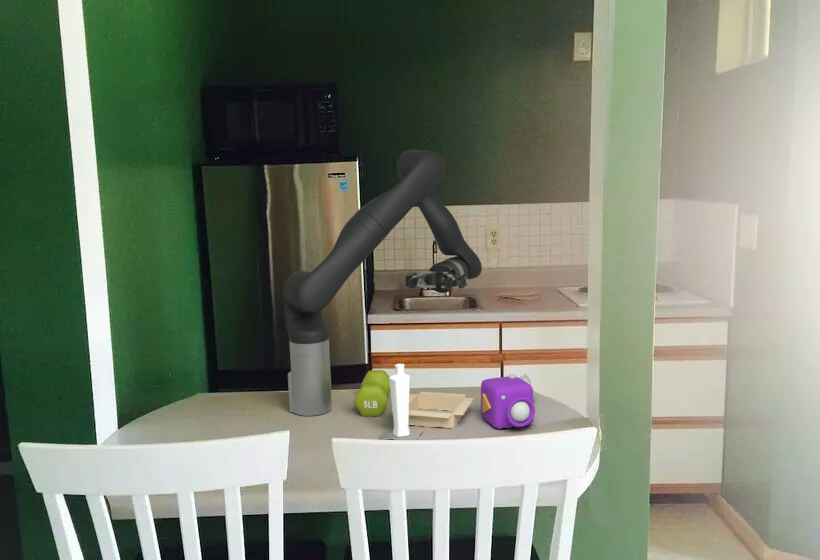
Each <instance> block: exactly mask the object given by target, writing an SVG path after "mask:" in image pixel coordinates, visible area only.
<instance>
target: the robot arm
mask: <svg viewBox="0 0 820 560" xmlns="http://www.w3.org/2000/svg"><path fill="white" fill-rule="evenodd" d="M445 170H446V163H445V160H444V158H443V157H442V156H441V155H440V154H439V153H437V152H433V151H430V150H423V149H409V150H405V151H403V152H402V153H401V154H400V156H399V157H398V159H397V163H396V171H397V175H398V177H399V179H400V181H399V182H397V184H396V185H395V186H394V187H392V188H390V189H388V190H387V191H386V192H384V193H382V194H380V195H379V196H377V197H374V198H372V200H370V201H367V203H365V204H364V205H363V206H361V207H360V208H359V209H358V210H357V211H356V212H355V213H354V214H353V215H352V216H351V217H350V218H349V219H348V221H347V222H346V223H345V224H344V226H343V228H342V229H341V231H340V233H339V235H338V237H337V239H336V241H335V243H334V246H333V247H332V250H331V251H330V253H328V255H327V256H326V257H325V258H324V259H323V260H322V261H321V262H320V263H319V264H318V265H317V266H316V267H315V268H314V269H313V270H311V271H306V270H301V271H299V270H298V271H296V272H293V273H292V274H291V275H289V276H288V277H287V279H286V280H285V283H284V286H283V292H282V293H283V294H282V295H283V296H282V297H283V298H282V299H283V309H284V320H285V326H286V330H287V332H288V333H287V334H288V337H289V338H288V339H289V341H288V342H289V354H290V355H289V356H290V357H289V358H290V371H289V372H288V373H287V383H288V385H287V386H288V403H289V413H294V414H295V415H299V416H304V417H305V416H307V417H308V416H309V417H311V416H320V415H323V414H326V413H329V412H331V411H332V410H333V399H332V379H331V378H332V377H331V376H332V375H331V358H330V337H329V335H330V333H329V327H328V325H327V324H326V323H325V320H324V317H323V313H322V311H323V310H324V309H326V308H327V306H328V305H330V303H331V302H332V300H333V299H334V298H335V296H336V295H338V294H337V293H338V292H339V291H340V290H341V288H342V286H343V285H345V283H346V281H347V280H348V279H349V277H350V276H352V274H353V273H354V272H355V271H356V270H357V268H358V267H360V266H361V264H363V262H364V261H365V260H366V259H367V258H368V257H369V255H370V254H372V253H373V252H374V250H375V249H377V247H378V246H379V245H380V244H381V243H382V242H383V241H384V239H386V237H387V236H388V235H389V234H390V233H391V231H392V230H393V229H394V228H395V227H396V226H397V225H398V224H399V223H400V222H401V221H402V220H403V219H404V218H405V217H406V215H407V214H408V213H409V212H410V211H411V210H412V209H413V208H414V207H415V206H416V205H417V207H418V209H419V210H420V212H421V214H422V215H423V217H424V219H425V221H426V223H427V224H428V226H429V227H428V228H430V231H431V233H432V235H433V239H434V240H435V242H436V245H437V246H438V249H439V251H440V252H441V254H442V255H444V256H450V257H449V258H446V259H444V260H442V261H439V262H437V263H435V264H433V265H432V266H431V267H430V268H429V269H428V271H427V272H420V273H417V272H413V273H412V272H411V273H409V274H406V275H405V276H404V277H405V278H404V279H405V280H404V281H405V287H408V288H409V289H414V288H416V287H418V288H421V289H425V288H426V289H427V288H431V289H432V290H433V291H435V292H437V293H440V294H446V293H448V292H450V291H452V290H455V289H456V288H457V287H458V289H464V288H466V287H467V286H468V281H469V280H472V279H476V278H478V277H480V275H481V273H482V272H483V267H482V262H481V260H480V257H479V256H478V255H477V254H476V252H474V250H473V249H472V248H471V247H470V245H469V244H468V242H466V239H465V238H464V237H463V234H462V232H461V229H460V227H459V225H458V222H457V220H456V218H455V217H454V215H453V213H451V211H450V210H449V209H448V208H447V206H446V205H445V204H444V203H443V202H442V200H441V199H440V198H439V196H438V194H437V193H436V191H435V190H434V189H435V188H436V187H437V186H438V185H439V184H440V182H441V181H442V179H443V177H444V175H445ZM451 256H452V257H451Z"/></svg>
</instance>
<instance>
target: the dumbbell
mask: <svg viewBox="0 0 820 560" xmlns="http://www.w3.org/2000/svg"><path fill="white" fill-rule="evenodd" d="M389 377H390V375H389V374H388V372H386V370H383V369H380V370H379V369H371V370H368V371H367V373H366V374H365V376H364V377H363V379H362V381H361V385H360V388H359V390H358V392H357V394H356V396H355V398H354V405H355V407H356V409H357V410H358V412H359V413H360V415H361V416H363V417H368V416H376V417H380V416H381V415H383V412H384V411H385V409H386V407H387V405H388V403H389V398H388V395H389V394H390V393H391V392H390V383H389Z"/></svg>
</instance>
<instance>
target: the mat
mask: <svg viewBox="0 0 820 560" xmlns="http://www.w3.org/2000/svg"><path fill="white" fill-rule="evenodd" d="M393 429H394V427H389V426H388V427H387V428H386V429H385V430H384V431H383V432H382V433H381V434H380V435H379V437H380V438H400V437H402V436H396V435H394V434H393Z"/></svg>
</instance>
